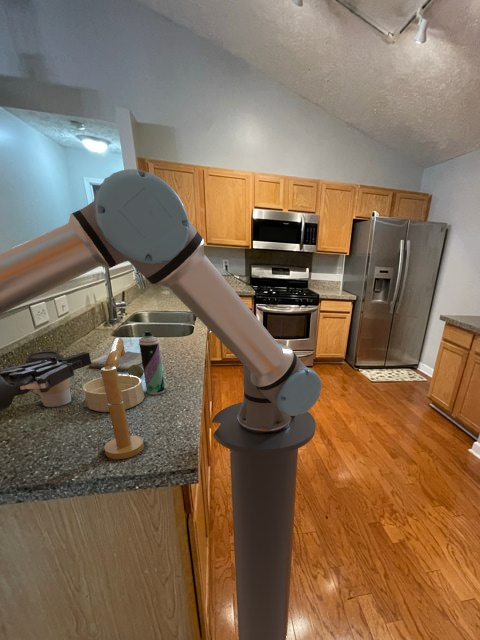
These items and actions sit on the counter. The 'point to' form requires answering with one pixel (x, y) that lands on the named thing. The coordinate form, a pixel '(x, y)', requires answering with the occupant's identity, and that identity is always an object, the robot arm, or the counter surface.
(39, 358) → the coffee cup
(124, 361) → the dish towel
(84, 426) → the counter surface
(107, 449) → the base
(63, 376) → the robot arm
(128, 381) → the cream bowl
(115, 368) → the faucet spout
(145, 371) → the spray can
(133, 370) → the lime
